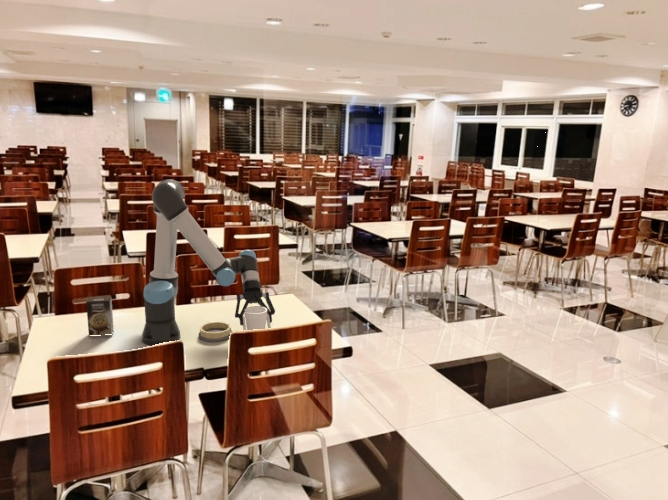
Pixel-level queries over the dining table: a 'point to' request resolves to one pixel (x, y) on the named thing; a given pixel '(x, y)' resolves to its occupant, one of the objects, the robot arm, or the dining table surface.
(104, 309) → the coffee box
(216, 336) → the collar seat
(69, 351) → the dining table surface
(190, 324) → the dining table surface
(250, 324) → the foam cup
